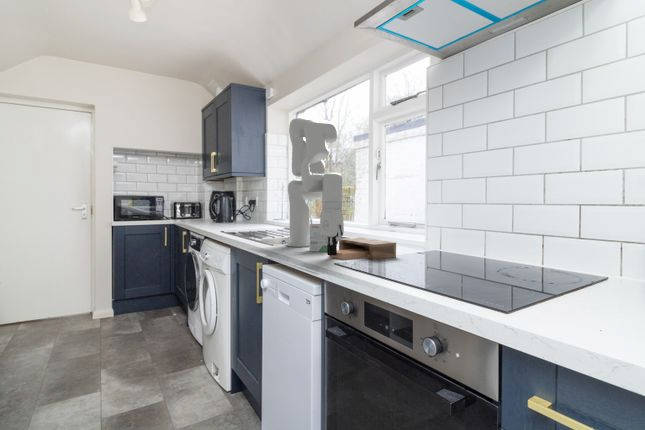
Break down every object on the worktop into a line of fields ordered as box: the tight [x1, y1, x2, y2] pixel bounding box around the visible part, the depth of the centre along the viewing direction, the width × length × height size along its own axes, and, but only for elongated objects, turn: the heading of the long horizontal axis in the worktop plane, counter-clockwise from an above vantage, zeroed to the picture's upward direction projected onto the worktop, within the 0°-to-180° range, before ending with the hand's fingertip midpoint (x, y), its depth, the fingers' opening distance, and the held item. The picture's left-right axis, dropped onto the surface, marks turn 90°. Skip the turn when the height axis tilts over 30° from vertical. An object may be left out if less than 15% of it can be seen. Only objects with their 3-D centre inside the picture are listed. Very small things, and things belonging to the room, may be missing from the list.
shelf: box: [338, 237, 397, 260], centre depth 139 cm, size 22×11×6 cm, turn 33°
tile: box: [329, 249, 370, 260], centre depth 135 cm, size 9×14×2 cm, turn 122°
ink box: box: [308, 223, 327, 253], centre depth 150 cm, size 9×5×12 cm, turn 84°
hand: (331, 255), depth 130 cm, fingers closed
